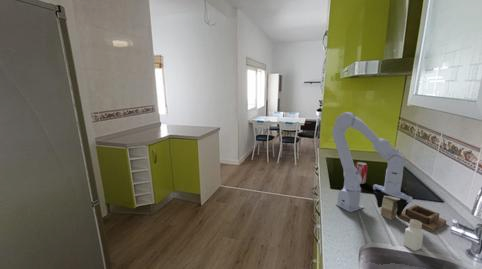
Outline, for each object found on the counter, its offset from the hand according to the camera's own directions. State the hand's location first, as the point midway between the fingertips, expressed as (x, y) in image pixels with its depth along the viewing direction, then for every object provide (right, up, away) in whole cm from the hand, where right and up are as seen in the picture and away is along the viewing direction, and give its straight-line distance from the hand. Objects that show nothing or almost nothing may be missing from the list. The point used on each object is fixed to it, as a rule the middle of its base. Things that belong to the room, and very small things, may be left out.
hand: (388, 210), depth 93 cm
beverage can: (+7, +4, +36) cm, 37 cm away
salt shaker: (-5, -6, -18) cm, 20 cm away
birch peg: (0, -2, 0) cm, 2 cm away
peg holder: (+12, -3, -2) cm, 12 cm away
